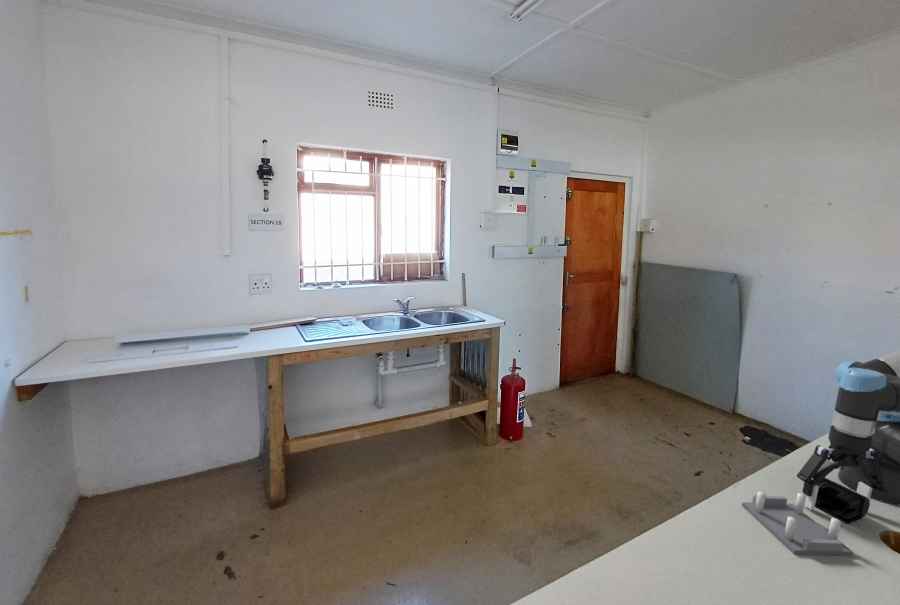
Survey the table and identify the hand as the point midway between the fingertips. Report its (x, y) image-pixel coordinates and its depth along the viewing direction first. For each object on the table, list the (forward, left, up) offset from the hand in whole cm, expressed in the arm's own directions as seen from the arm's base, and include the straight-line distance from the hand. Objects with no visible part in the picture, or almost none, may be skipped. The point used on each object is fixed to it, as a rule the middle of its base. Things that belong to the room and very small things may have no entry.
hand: (833, 507), depth 105 cm
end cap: (0, 0, -1) cm, 1 cm away
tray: (+17, +8, -1) cm, 19 cm away
